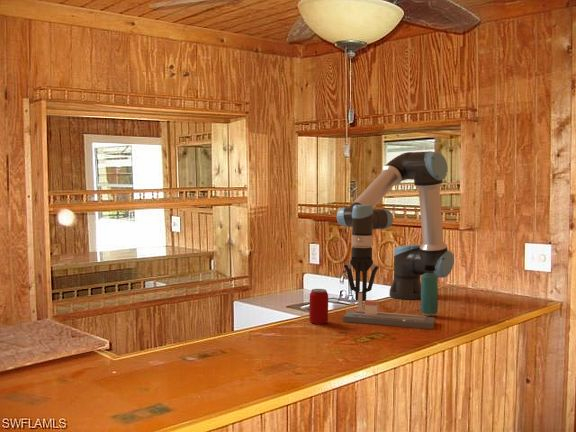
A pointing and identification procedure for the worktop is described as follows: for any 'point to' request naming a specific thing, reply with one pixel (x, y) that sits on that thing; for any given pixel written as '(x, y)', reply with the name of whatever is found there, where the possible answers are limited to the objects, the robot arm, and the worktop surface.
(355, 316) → the board
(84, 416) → the worktop surface
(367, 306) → the fader tab
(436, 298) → the beverage bottle
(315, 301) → the beverage can
